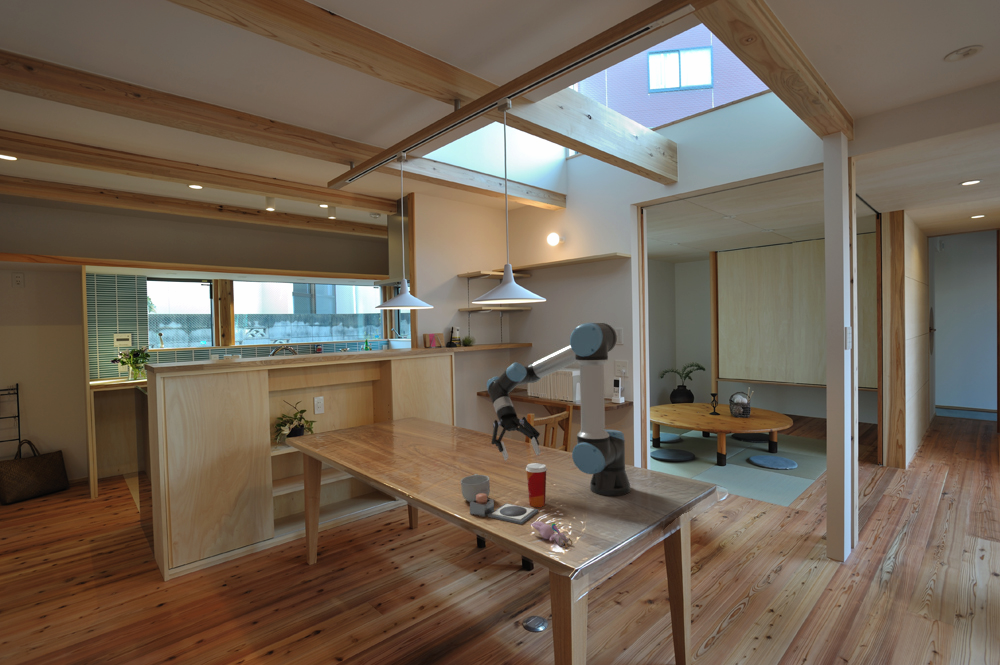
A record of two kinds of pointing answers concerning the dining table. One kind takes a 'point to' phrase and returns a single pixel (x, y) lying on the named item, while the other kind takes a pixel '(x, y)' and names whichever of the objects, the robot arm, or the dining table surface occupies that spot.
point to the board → (513, 513)
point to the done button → (481, 498)
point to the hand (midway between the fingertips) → (522, 456)
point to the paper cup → (536, 484)
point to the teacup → (475, 486)
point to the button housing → (482, 507)
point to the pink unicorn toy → (551, 533)
